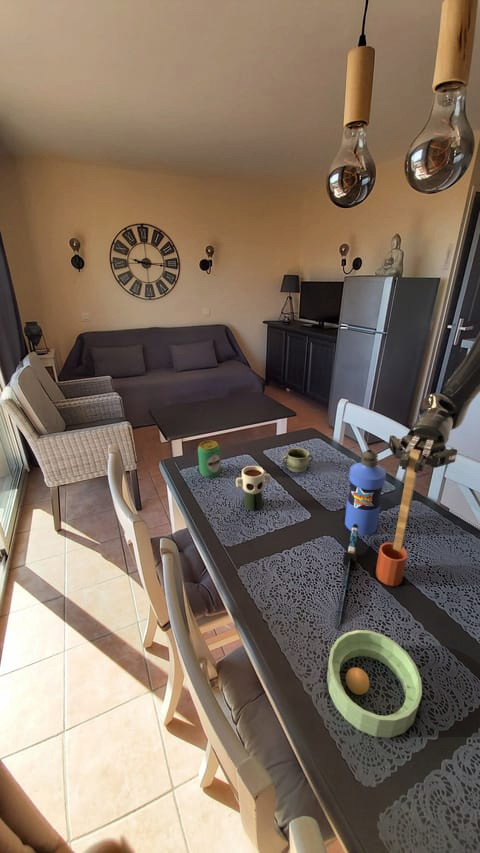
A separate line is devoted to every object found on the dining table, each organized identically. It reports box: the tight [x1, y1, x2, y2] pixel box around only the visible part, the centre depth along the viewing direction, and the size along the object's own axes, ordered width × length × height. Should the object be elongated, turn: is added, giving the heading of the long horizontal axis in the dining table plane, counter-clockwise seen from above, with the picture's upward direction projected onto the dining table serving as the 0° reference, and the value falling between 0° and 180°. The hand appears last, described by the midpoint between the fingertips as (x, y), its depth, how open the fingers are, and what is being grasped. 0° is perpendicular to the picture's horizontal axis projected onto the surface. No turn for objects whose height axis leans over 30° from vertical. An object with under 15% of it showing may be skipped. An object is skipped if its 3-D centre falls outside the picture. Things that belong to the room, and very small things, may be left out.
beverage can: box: [197, 440, 222, 479], centre depth 134 cm, size 8×8×12 cm
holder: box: [375, 541, 408, 587], centre depth 86 cm, size 6×6×9 cm
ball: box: [345, 666, 370, 696], centre depth 64 cm, size 4×4×4 cm
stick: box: [393, 449, 421, 552], centre depth 74 cm, size 2×2×24 cm
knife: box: [338, 524, 359, 626], centre depth 88 cm, size 31×3×4 cm, turn 155°
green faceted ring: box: [326, 629, 423, 738], centre depth 64 cm, size 15×15×6 cm
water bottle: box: [344, 449, 387, 536], centre depth 102 cm, size 9×9×25 cm
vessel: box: [281, 447, 314, 473], centre depth 138 cm, size 12×9×6 cm
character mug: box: [235, 465, 271, 511], centre depth 115 cm, size 11×7×13 cm, turn 101°
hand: (410, 466), depth 68 cm, fingers closed on stick, 1 cm apart
